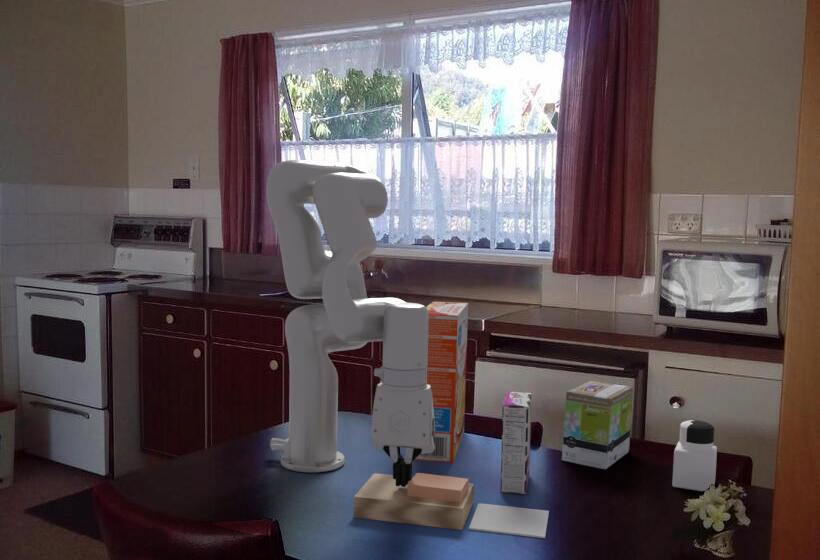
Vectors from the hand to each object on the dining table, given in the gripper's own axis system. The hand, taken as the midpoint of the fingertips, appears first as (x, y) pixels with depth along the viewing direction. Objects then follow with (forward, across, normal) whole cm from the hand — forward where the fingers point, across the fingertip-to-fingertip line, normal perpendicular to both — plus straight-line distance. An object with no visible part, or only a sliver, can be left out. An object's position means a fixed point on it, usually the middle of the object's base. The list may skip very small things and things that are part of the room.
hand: (402, 483), depth 131 cm
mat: (+4, +18, 0) cm, 19 cm away
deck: (+4, +2, 0) cm, 5 cm away
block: (+1, +6, 0) cm, 6 cm away
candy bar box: (+5, +17, +18) cm, 26 cm away
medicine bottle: (+5, +50, +28) cm, 58 cm away
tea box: (+5, +32, +40) cm, 52 cm away
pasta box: (+4, -1, +38) cm, 38 cm away
